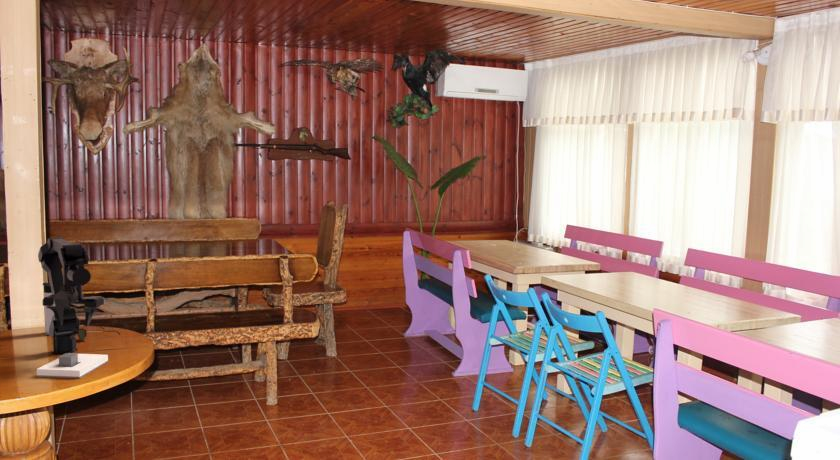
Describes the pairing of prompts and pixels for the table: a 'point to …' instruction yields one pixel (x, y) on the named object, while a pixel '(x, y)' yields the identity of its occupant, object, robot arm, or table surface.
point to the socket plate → (81, 369)
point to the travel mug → (47, 311)
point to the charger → (68, 360)
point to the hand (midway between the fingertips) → (74, 325)
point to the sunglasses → (83, 332)
